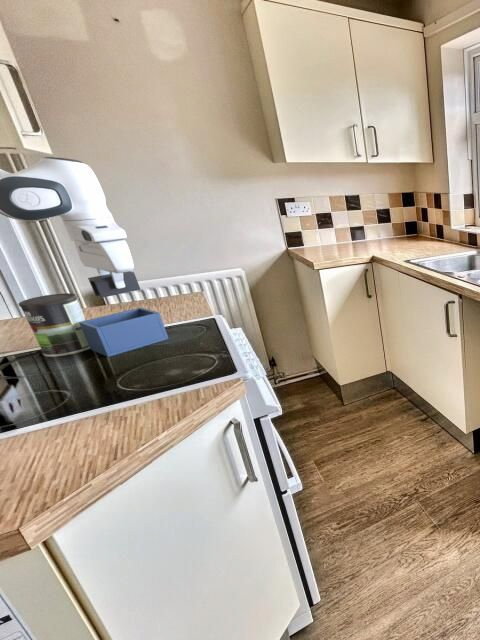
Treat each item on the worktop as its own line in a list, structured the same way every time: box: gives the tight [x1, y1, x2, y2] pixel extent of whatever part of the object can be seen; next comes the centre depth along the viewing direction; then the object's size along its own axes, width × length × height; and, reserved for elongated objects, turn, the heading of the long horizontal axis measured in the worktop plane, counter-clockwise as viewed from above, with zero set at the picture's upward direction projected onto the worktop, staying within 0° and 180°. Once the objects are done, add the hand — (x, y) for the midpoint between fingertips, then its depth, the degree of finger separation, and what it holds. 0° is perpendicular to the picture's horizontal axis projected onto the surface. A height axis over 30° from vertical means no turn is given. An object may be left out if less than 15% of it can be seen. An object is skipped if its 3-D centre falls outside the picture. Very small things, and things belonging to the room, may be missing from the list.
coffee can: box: [18, 292, 91, 358], centre depth 110 cm, size 10×10×14 cm
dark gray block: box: [87, 271, 141, 299], centre depth 106 cm, size 8×4×5 cm, turn 151°
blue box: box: [79, 307, 169, 358], centre depth 114 cm, size 14×11×8 cm
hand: (115, 286), depth 106 cm, fingers closed on dark gray block, 4 cm apart
